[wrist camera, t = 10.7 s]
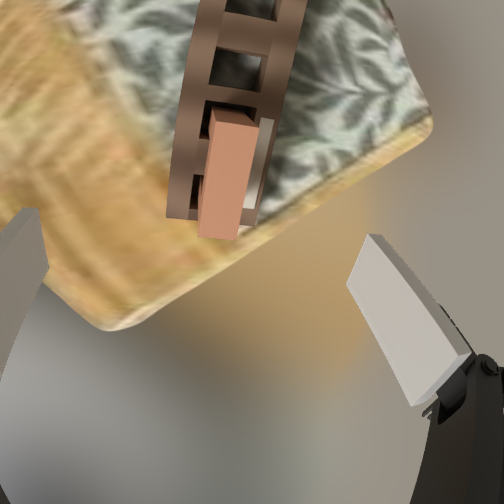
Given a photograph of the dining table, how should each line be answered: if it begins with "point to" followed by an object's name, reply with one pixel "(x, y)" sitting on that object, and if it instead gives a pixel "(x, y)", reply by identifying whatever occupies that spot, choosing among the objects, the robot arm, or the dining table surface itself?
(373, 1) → the dining table surface
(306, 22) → the dining table surface
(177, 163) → the brown compartment rack
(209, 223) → the pink u-shaped block
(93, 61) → the dining table surface
